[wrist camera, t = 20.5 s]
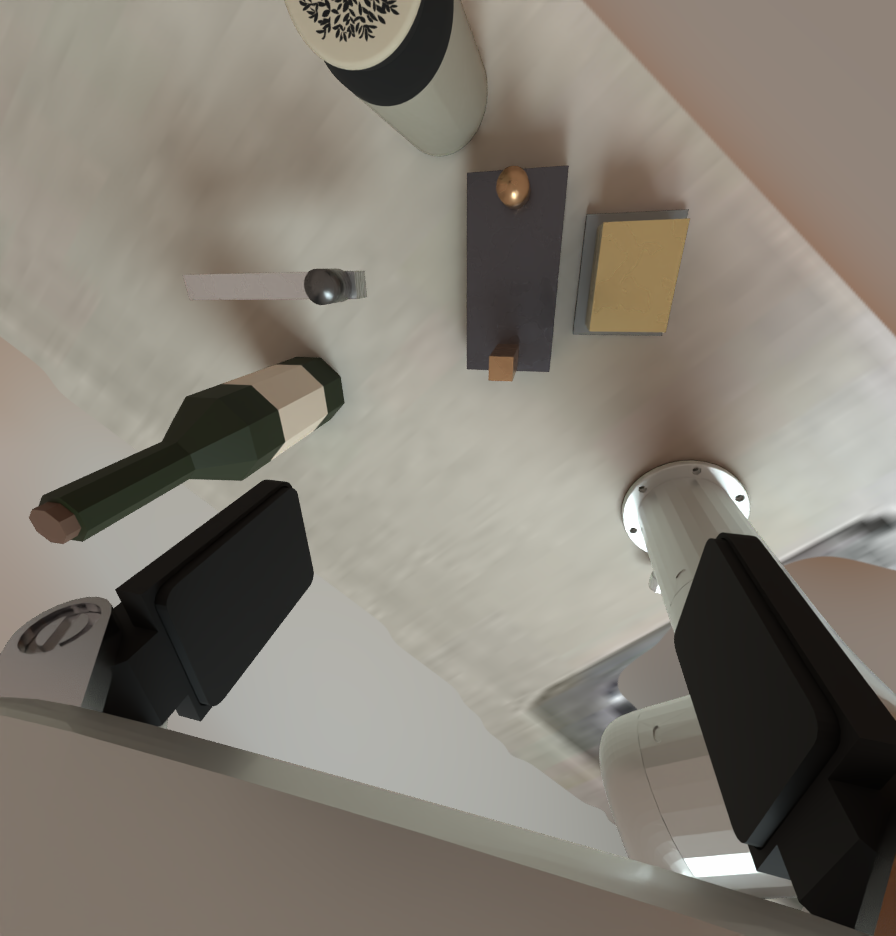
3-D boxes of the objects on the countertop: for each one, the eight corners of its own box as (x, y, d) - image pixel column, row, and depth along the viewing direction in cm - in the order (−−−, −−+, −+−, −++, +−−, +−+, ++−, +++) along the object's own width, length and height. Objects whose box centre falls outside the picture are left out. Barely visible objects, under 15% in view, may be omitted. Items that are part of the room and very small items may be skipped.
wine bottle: (357, 408, 49) (137, 569, 23) (305, 429, 52) (60, 591, 26) (323, 343, 46) (30, 443, 20) (271, 369, 50) (-41, 484, 24)
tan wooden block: (652, 324, 37) (665, 332, 33) (585, 323, 39) (589, 331, 34) (672, 224, 34) (689, 218, 29) (597, 227, 35) (603, 222, 31)
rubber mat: (660, 334, 38) (662, 335, 37) (572, 333, 40) (573, 334, 39) (685, 210, 34) (688, 209, 33) (586, 215, 35) (587, 214, 35)
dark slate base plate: (549, 363, 42) (548, 388, 33) (473, 360, 43) (453, 384, 35) (567, 175, 34) (571, 145, 26) (475, 181, 36) (451, 155, 28)
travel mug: (474, 166, 36) (412, 89, 20) (390, 145, 36) (269, 56, 21) (499, 45, 32) (448, -168, 16) (405, 25, 33) (270, -197, 17)
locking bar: (367, 299, 34) (340, 304, 29) (207, 300, 37) (161, 305, 33) (364, 268, 33) (335, 268, 28) (199, 271, 36) (151, 272, 32)
